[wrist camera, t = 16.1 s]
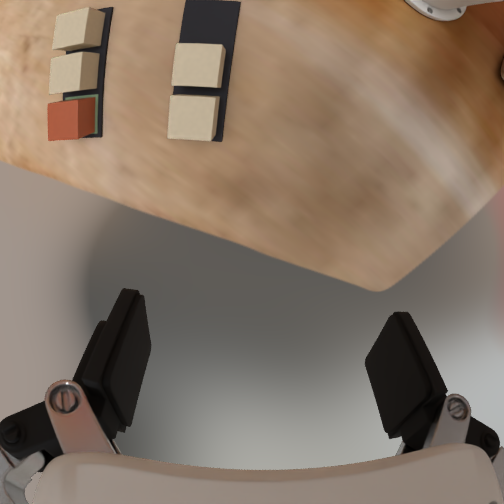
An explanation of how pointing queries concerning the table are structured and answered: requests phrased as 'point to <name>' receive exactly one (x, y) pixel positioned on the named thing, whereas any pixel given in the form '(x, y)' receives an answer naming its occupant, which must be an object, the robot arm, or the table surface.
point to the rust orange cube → (71, 119)
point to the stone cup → (502, 70)
